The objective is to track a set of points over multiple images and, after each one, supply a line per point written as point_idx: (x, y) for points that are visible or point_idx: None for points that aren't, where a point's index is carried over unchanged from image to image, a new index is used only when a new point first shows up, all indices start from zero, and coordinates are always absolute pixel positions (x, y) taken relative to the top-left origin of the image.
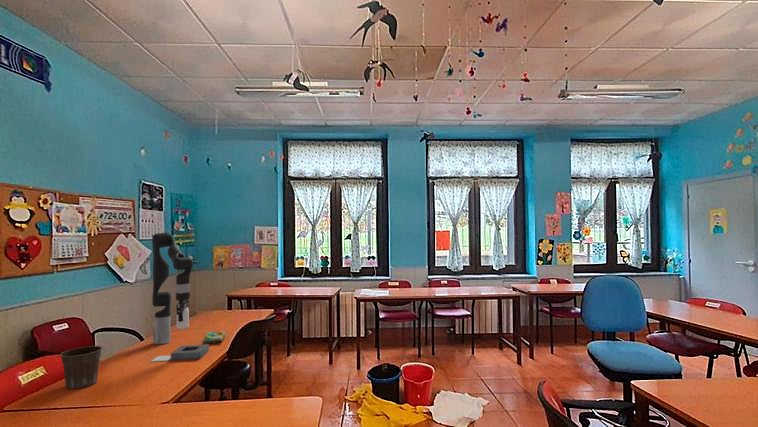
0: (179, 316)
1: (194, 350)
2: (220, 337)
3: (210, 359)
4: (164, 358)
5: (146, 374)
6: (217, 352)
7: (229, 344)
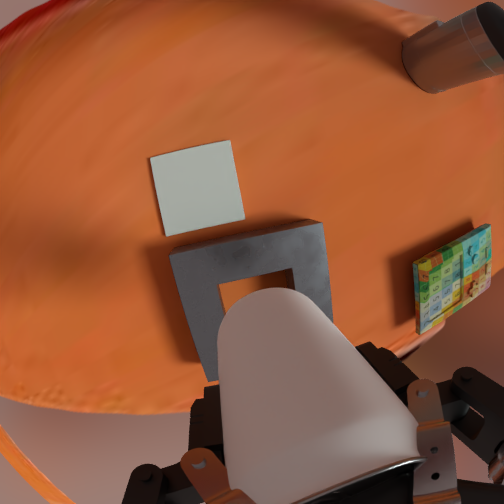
0: (196, 445)
1: None
2: (428, 325)
3: None
4: (191, 201)
5: (28, 256)
6: None
7: None
